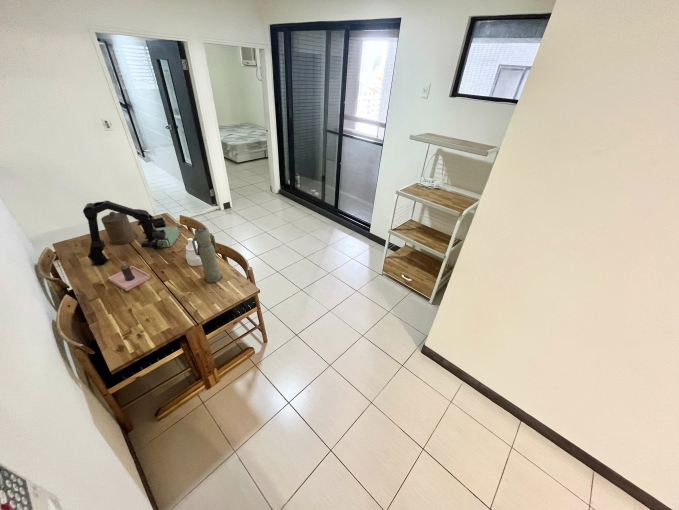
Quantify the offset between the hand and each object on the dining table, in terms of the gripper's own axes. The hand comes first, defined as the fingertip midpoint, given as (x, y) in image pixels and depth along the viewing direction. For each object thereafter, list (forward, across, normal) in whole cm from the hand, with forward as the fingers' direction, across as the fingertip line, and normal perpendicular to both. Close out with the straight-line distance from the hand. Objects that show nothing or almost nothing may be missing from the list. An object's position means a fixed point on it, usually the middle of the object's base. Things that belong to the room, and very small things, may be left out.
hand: (156, 249), depth 189 cm
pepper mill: (+2, -30, +3) cm, 30 cm away
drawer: (+2, +11, 0) cm, 11 cm away
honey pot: (+3, -11, -30) cm, 32 cm away
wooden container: (+3, +18, +30) cm, 35 cm away
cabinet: (+3, +16, 0) cm, 16 cm away
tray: (+3, -30, +3) cm, 30 cm away
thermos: (+3, -31, -45) cm, 55 cm away
